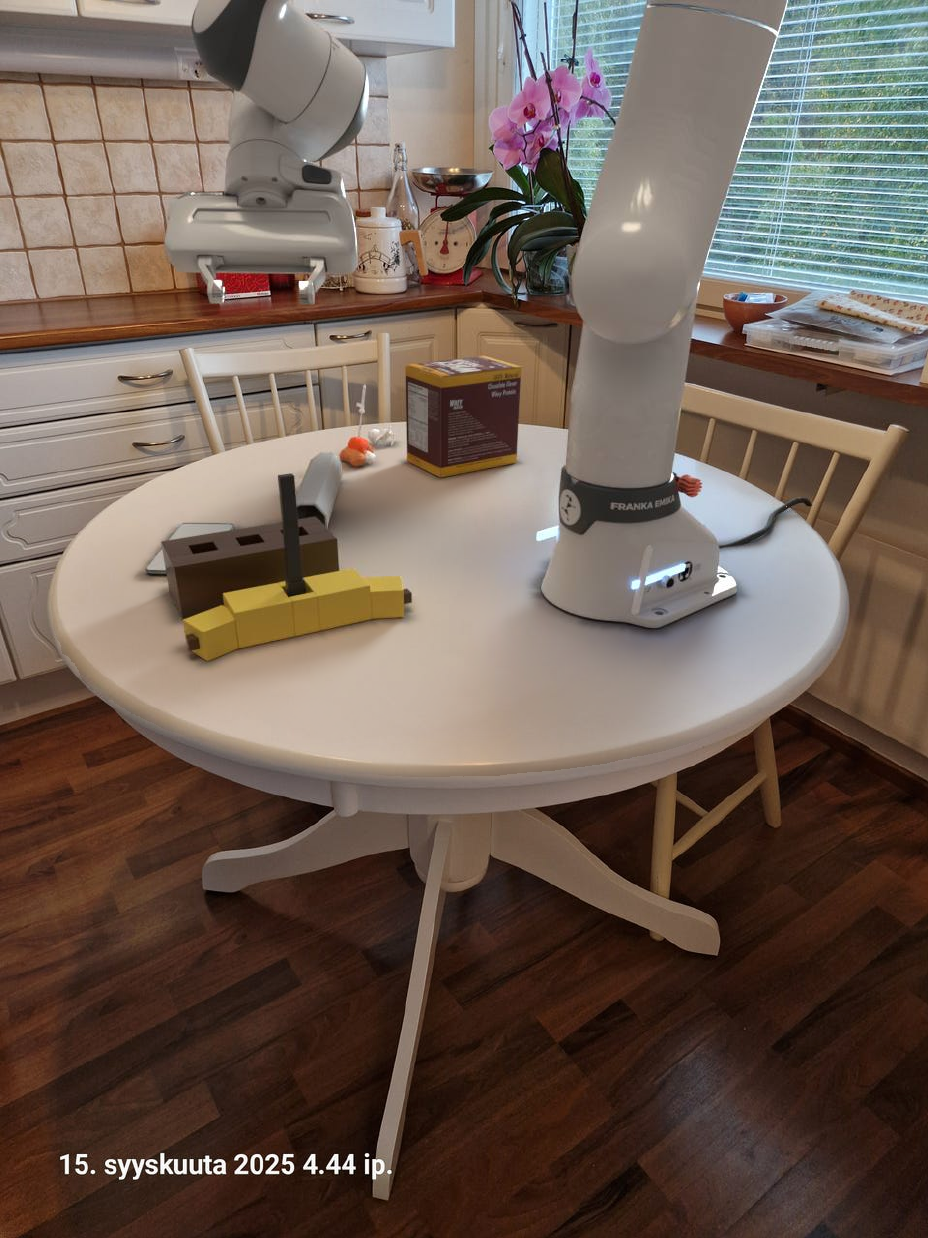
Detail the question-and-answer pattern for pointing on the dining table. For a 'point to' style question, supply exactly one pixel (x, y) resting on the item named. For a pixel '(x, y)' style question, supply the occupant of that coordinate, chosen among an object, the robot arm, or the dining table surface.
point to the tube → (319, 488)
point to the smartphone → (184, 531)
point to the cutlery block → (241, 562)
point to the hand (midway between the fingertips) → (261, 300)
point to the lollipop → (358, 444)
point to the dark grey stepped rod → (291, 535)
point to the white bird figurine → (380, 435)
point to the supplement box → (462, 414)
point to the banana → (293, 611)
